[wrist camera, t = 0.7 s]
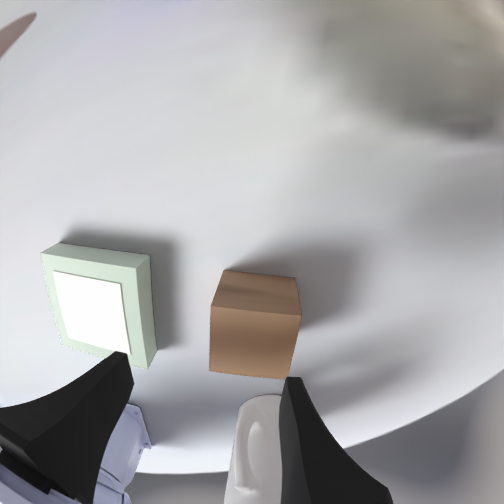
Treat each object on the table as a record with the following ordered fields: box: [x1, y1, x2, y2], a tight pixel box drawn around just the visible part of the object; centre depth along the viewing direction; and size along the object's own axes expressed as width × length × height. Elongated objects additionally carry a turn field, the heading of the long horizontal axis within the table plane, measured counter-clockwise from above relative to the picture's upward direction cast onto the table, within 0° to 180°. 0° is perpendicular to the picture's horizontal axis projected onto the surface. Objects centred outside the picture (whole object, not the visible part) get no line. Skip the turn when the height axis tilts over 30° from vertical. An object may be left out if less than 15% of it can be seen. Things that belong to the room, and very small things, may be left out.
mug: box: [224, 395, 282, 504], centre depth 19 cm, size 10×7×12 cm, turn 20°
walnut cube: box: [209, 270, 302, 379], centre depth 19 cm, size 5×5×5 cm
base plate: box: [41, 243, 157, 369], centre depth 20 cm, size 9×9×3 cm
